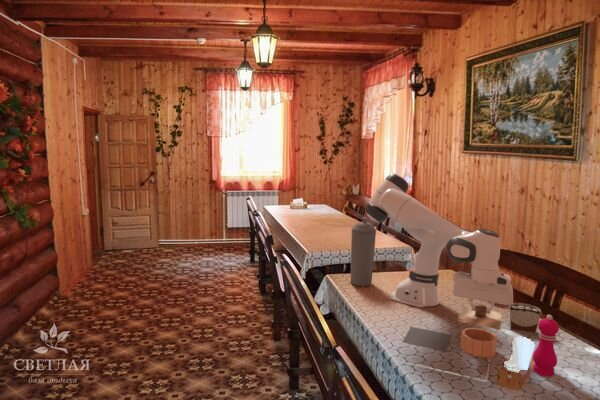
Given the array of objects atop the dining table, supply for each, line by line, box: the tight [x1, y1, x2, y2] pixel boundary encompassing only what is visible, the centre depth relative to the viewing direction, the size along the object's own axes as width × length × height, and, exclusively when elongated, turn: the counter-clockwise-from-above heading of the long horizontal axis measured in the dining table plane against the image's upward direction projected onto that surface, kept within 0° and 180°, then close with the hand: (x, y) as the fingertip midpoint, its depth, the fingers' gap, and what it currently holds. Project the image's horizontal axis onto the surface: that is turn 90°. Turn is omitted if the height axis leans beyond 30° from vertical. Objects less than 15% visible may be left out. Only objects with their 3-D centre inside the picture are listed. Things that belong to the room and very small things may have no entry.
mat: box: [402, 326, 453, 353], centre depth 175 cm, size 16×16×1 cm
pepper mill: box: [532, 314, 560, 377], centre depth 152 cm, size 7×7×20 cm
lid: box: [457, 303, 503, 331], centre depth 165 cm, size 14×14×5 cm
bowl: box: [459, 327, 498, 359], centre depth 167 cm, size 12×12×6 cm
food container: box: [507, 302, 543, 335], centre depth 187 cm, size 12×6×10 cm, turn 71°
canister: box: [350, 217, 377, 287], centre depth 237 cm, size 13×13×35 cm
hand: (480, 311), depth 165 cm, fingers closed on lid, 4 cm apart
